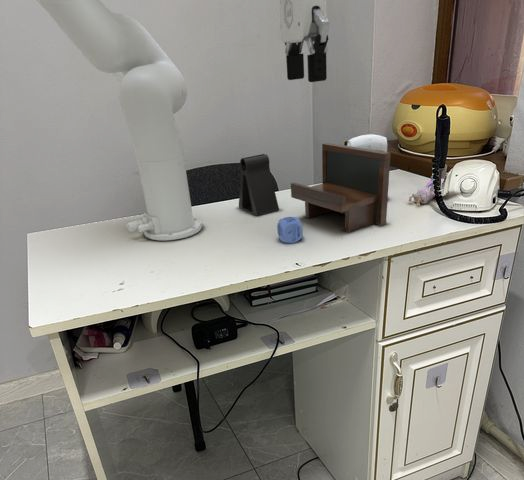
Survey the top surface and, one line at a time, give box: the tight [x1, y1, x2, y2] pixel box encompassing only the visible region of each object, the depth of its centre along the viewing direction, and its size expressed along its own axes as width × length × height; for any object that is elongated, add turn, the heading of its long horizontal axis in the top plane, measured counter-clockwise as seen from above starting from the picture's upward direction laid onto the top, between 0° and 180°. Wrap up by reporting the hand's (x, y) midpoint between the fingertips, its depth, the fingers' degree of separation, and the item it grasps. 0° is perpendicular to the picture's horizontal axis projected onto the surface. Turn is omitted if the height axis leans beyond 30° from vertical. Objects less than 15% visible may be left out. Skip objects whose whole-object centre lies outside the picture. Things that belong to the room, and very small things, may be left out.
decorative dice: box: [276, 216, 304, 244], centre depth 96 cm, size 4×4×4 cm
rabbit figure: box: [408, 174, 444, 207], centre depth 111 cm, size 6×6×15 cm
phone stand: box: [238, 153, 280, 217], centre depth 113 cm, size 9×6×12 cm, turn 30°
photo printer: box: [346, 133, 388, 152], centre depth 122 cm, size 10×4×12 cm, turn 98°
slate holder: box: [290, 142, 391, 233], centre depth 101 cm, size 11×18×14 cm, turn 34°
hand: (306, 80), depth 87 cm, fingers open, 9 cm apart
